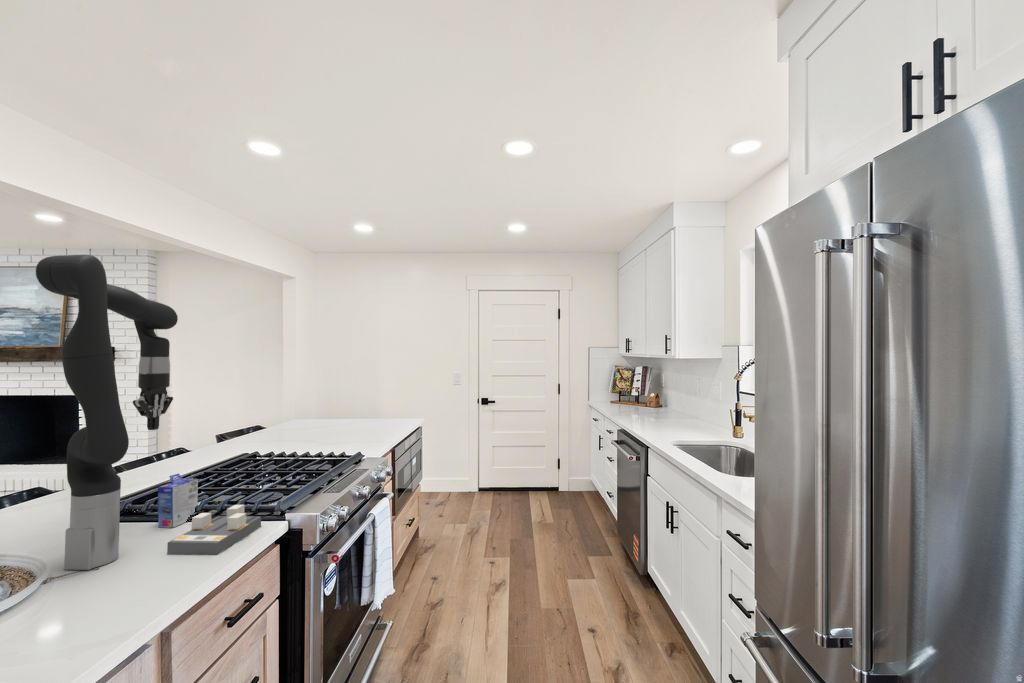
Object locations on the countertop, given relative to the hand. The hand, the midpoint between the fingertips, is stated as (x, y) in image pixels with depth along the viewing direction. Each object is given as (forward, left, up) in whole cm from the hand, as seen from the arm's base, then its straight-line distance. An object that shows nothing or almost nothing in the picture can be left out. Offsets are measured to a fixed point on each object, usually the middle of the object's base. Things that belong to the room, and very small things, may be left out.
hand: (152, 429), depth 140 cm
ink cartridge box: (+4, -5, -29) cm, 30 cm away
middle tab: (-1, -27, -25) cm, 37 cm away
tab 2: (-9, -31, -25) cm, 41 cm away
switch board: (-9, -26, -29) cm, 40 cm away
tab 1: (-9, -21, -25) cm, 34 cm away
